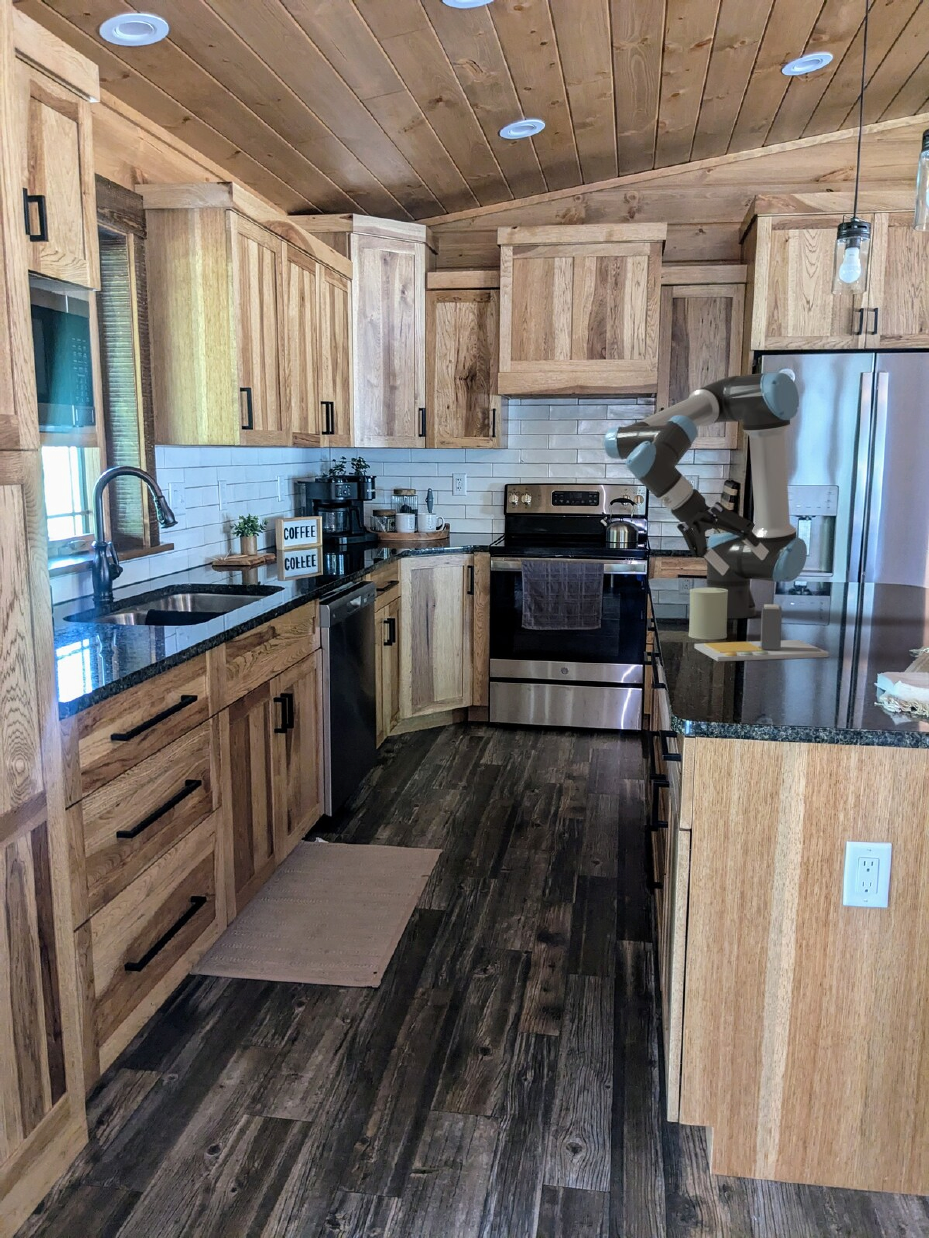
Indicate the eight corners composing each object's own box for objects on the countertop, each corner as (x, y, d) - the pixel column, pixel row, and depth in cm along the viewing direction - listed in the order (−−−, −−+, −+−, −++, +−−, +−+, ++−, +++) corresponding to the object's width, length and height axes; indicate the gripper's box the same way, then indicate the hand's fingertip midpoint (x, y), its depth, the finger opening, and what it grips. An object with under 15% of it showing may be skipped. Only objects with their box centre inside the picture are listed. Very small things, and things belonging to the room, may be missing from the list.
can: (728, 640, 227) (729, 590, 225) (689, 639, 229) (690, 590, 227) (725, 633, 236) (727, 585, 234) (687, 632, 238) (688, 585, 236)
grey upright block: (778, 645, 214) (780, 604, 212) (780, 649, 209) (782, 607, 207) (760, 644, 215) (761, 603, 213) (761, 649, 210) (762, 607, 208)
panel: (798, 643, 221) (798, 638, 221) (828, 656, 206) (829, 650, 206) (694, 648, 219) (694, 642, 219) (717, 661, 204) (717, 655, 204)
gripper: (642, 526, 223) (703, 587, 227) (709, 492, 201) (775, 560, 204) (657, 505, 226) (717, 566, 230) (725, 469, 204) (790, 537, 208)
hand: (745, 563), depth 217 cm, fingers open, 13 cm apart
